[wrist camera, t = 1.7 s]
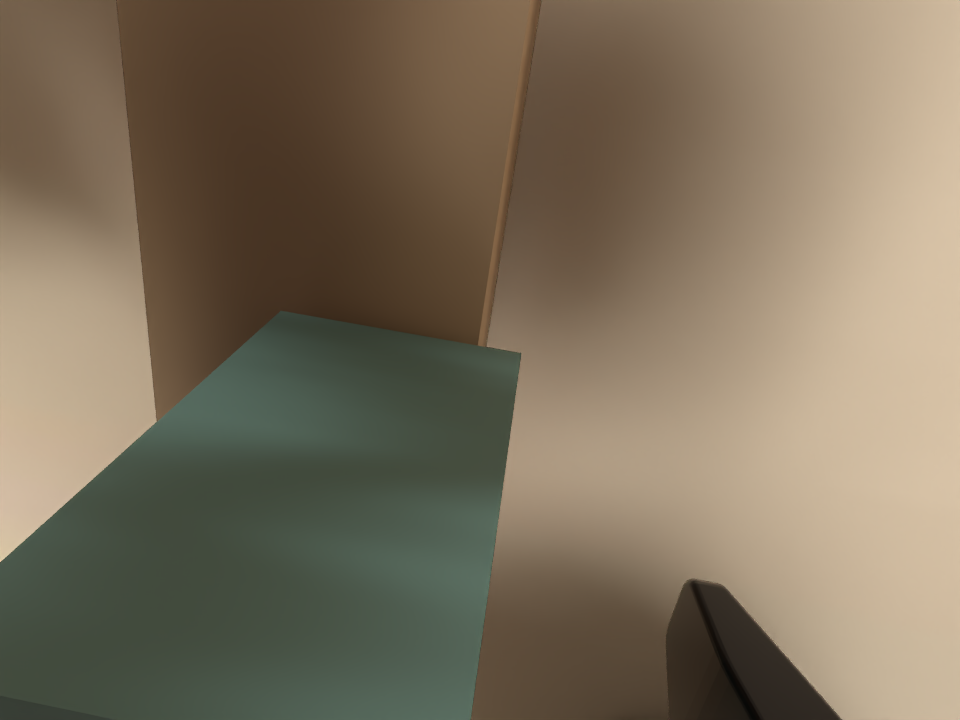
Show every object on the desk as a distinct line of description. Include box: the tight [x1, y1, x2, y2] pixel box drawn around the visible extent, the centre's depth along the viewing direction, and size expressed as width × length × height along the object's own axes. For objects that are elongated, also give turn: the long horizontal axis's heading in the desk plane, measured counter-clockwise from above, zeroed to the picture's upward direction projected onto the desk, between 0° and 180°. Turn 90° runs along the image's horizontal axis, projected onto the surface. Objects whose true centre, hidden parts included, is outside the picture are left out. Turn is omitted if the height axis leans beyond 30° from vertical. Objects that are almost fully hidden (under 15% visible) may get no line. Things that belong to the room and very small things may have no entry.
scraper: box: [0, 0, 541, 720], centre depth 8 cm, size 5×14×9 cm, turn 172°
